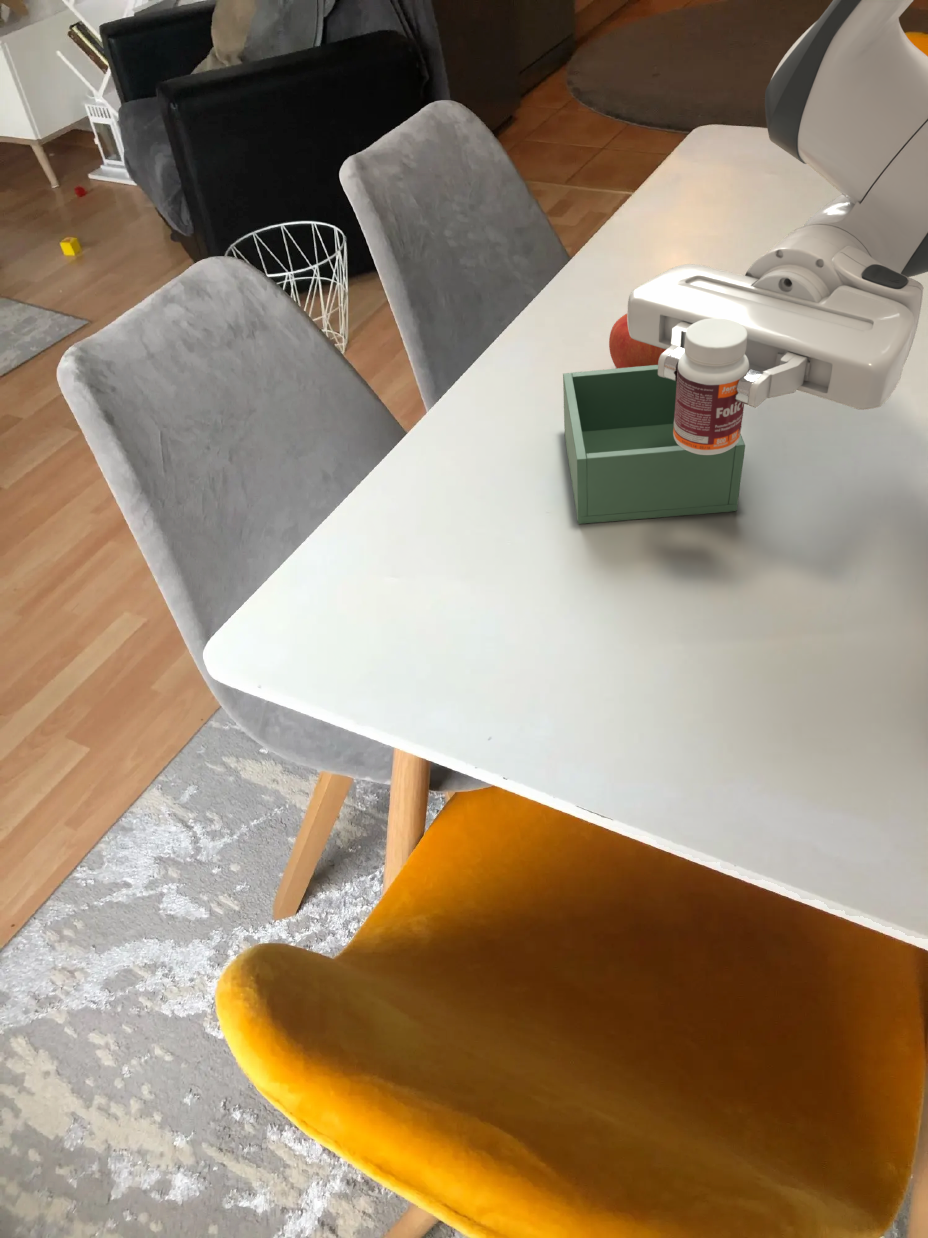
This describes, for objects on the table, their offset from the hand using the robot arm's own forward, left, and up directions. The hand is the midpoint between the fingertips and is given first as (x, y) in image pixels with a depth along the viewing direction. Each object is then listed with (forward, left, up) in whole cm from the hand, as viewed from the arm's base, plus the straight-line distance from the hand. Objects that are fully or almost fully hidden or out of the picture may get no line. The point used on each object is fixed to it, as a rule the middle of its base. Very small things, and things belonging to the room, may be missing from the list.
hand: (705, 382), depth 66 cm
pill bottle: (-1, -1, -5) cm, 5 cm away
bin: (+2, -14, -17) cm, 22 cm away
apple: (-1, -29, -17) cm, 34 cm away
